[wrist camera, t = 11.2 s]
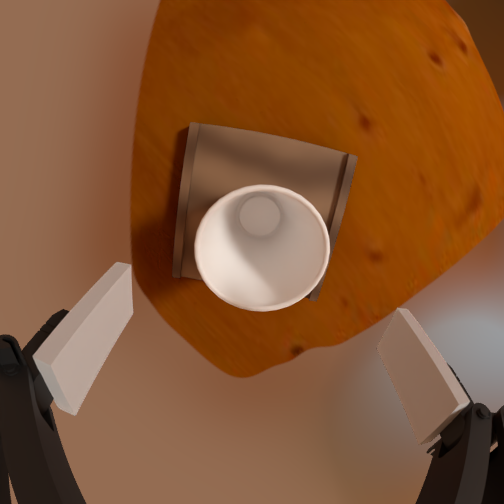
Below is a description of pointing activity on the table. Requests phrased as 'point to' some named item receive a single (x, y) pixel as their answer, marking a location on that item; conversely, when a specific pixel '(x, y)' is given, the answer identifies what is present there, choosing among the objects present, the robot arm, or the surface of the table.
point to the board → (255, 181)
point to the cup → (262, 247)
